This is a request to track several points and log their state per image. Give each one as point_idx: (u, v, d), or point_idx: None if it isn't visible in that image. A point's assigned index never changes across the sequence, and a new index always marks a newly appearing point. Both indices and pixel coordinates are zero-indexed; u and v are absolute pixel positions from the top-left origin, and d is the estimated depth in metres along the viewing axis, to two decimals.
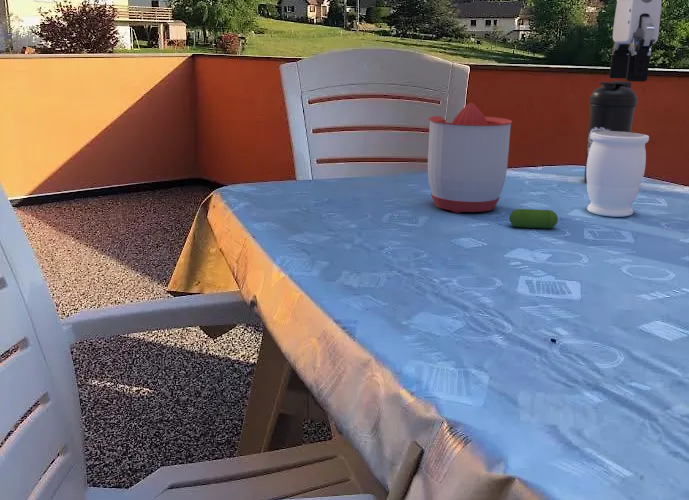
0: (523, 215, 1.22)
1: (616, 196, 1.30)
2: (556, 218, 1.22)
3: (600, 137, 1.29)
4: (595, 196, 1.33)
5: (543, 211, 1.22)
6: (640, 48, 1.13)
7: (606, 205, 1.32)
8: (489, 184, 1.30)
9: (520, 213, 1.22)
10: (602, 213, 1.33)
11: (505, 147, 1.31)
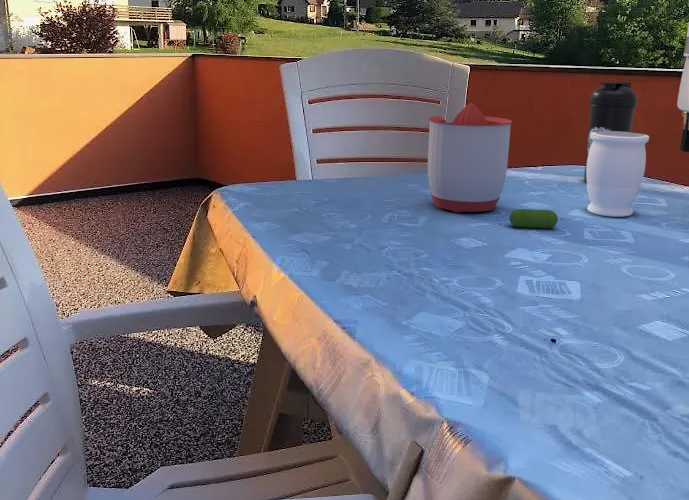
0: (523, 215, 1.22)
1: (616, 196, 1.30)
2: (556, 218, 1.22)
3: (600, 137, 1.29)
4: (595, 196, 1.33)
5: (543, 211, 1.22)
6: None
7: (606, 205, 1.32)
8: (489, 184, 1.30)
9: (520, 213, 1.22)
10: (602, 213, 1.33)
11: (505, 147, 1.31)
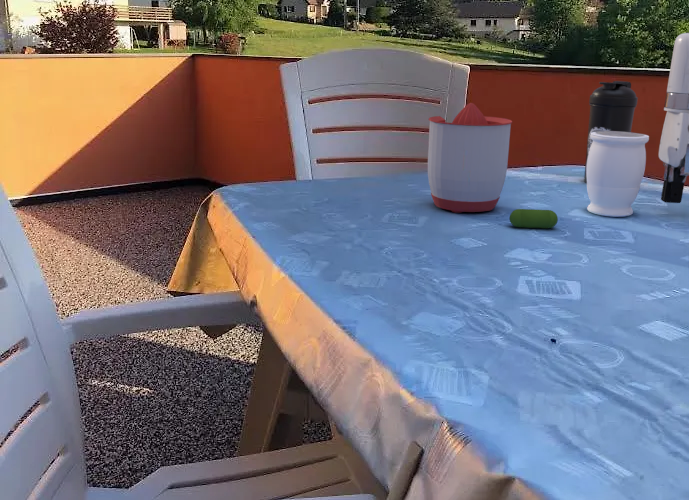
0: (523, 215, 1.22)
1: (616, 196, 1.30)
2: (556, 218, 1.22)
3: (600, 137, 1.29)
4: (595, 196, 1.33)
5: (543, 211, 1.22)
6: (676, 177, 1.31)
7: (606, 205, 1.32)
8: (489, 184, 1.30)
9: (520, 213, 1.22)
10: (602, 213, 1.33)
11: (505, 147, 1.31)
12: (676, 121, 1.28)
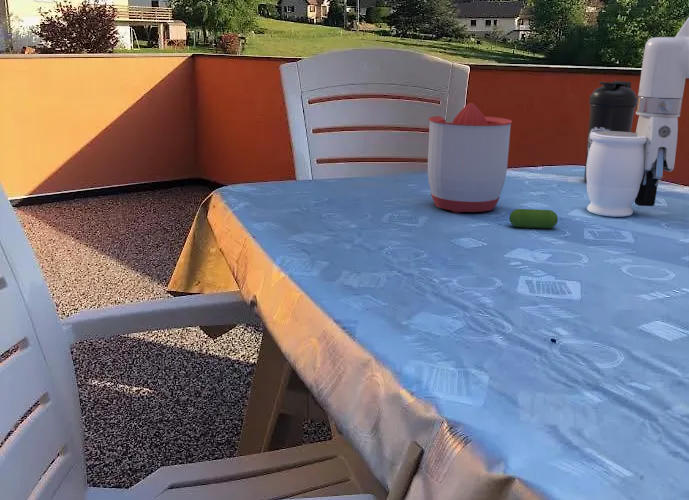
0: (523, 215, 1.22)
1: (616, 196, 1.30)
2: (556, 218, 1.22)
3: (600, 137, 1.29)
4: (595, 196, 1.33)
5: (543, 211, 1.22)
6: (649, 180, 1.31)
7: (606, 205, 1.32)
8: (489, 184, 1.30)
9: (520, 213, 1.22)
10: (602, 213, 1.33)
11: (505, 147, 1.31)
12: (647, 125, 1.28)
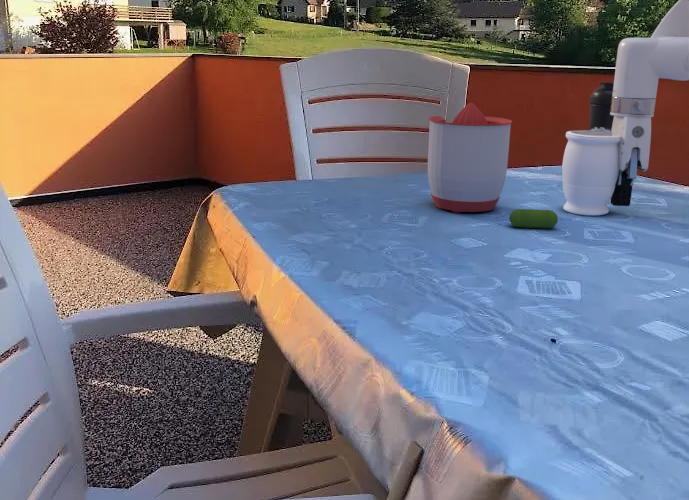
0: (523, 215, 1.22)
1: (589, 195, 1.31)
2: (556, 218, 1.22)
3: (573, 136, 1.30)
4: (569, 195, 1.34)
5: (543, 211, 1.22)
6: (624, 180, 1.32)
7: (580, 204, 1.33)
8: (489, 184, 1.30)
9: (520, 213, 1.22)
10: (576, 212, 1.33)
11: (505, 147, 1.31)
12: (621, 125, 1.29)
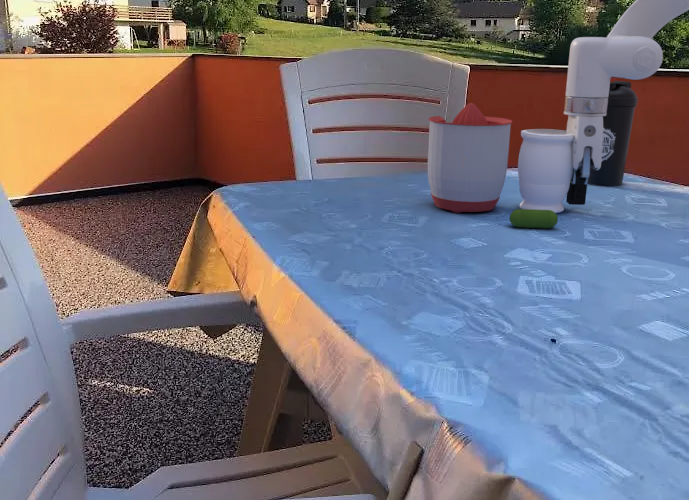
0: (523, 215, 1.22)
1: (542, 193, 1.32)
2: (556, 218, 1.22)
3: (526, 134, 1.31)
4: (524, 193, 1.35)
5: (543, 211, 1.22)
6: (578, 179, 1.32)
7: (534, 202, 1.34)
8: (489, 184, 1.30)
9: (520, 213, 1.22)
10: None
11: (505, 147, 1.31)
12: (574, 124, 1.29)
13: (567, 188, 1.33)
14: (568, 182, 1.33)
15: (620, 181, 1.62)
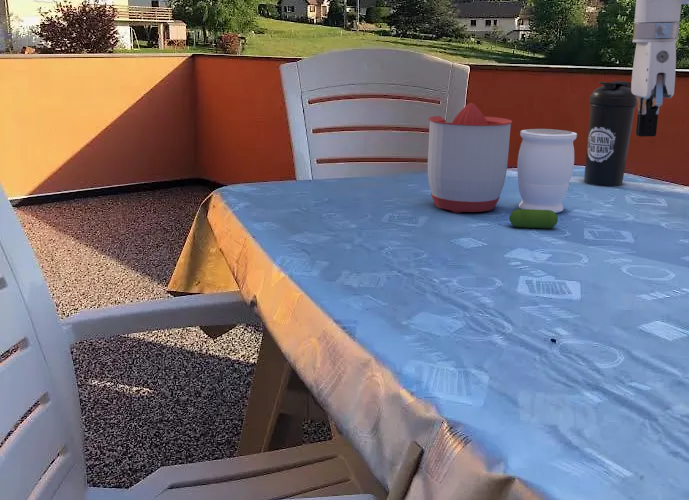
0: (523, 215, 1.22)
1: (541, 193, 1.32)
2: (556, 218, 1.22)
3: (525, 134, 1.31)
4: (523, 192, 1.35)
5: (543, 211, 1.22)
6: (649, 109, 1.29)
7: (533, 202, 1.34)
8: (489, 184, 1.30)
9: (520, 213, 1.22)
10: None
11: (505, 147, 1.31)
12: (645, 52, 1.26)
13: (566, 188, 1.33)
14: (567, 182, 1.33)
15: (620, 181, 1.62)
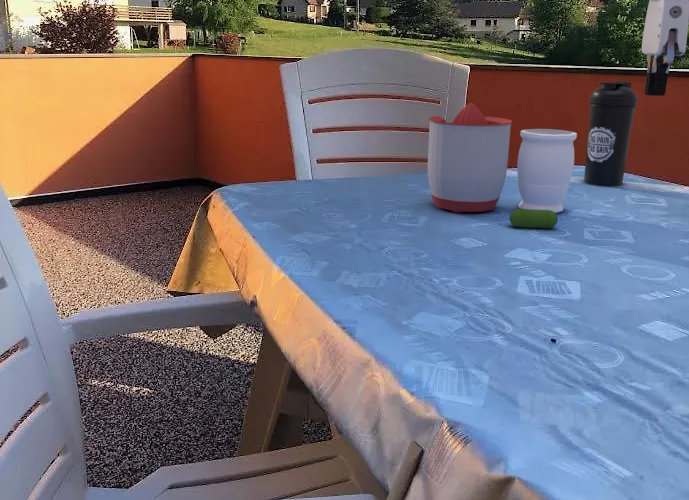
0: (523, 215, 1.22)
1: (541, 193, 1.32)
2: (556, 218, 1.22)
3: (525, 134, 1.31)
4: (523, 192, 1.35)
5: (543, 211, 1.22)
6: (659, 66, 1.27)
7: (533, 202, 1.34)
8: (489, 184, 1.30)
9: (520, 213, 1.22)
10: None
11: (505, 147, 1.31)
12: (658, 7, 1.25)
13: (566, 188, 1.33)
14: (567, 182, 1.33)
15: (620, 181, 1.62)
